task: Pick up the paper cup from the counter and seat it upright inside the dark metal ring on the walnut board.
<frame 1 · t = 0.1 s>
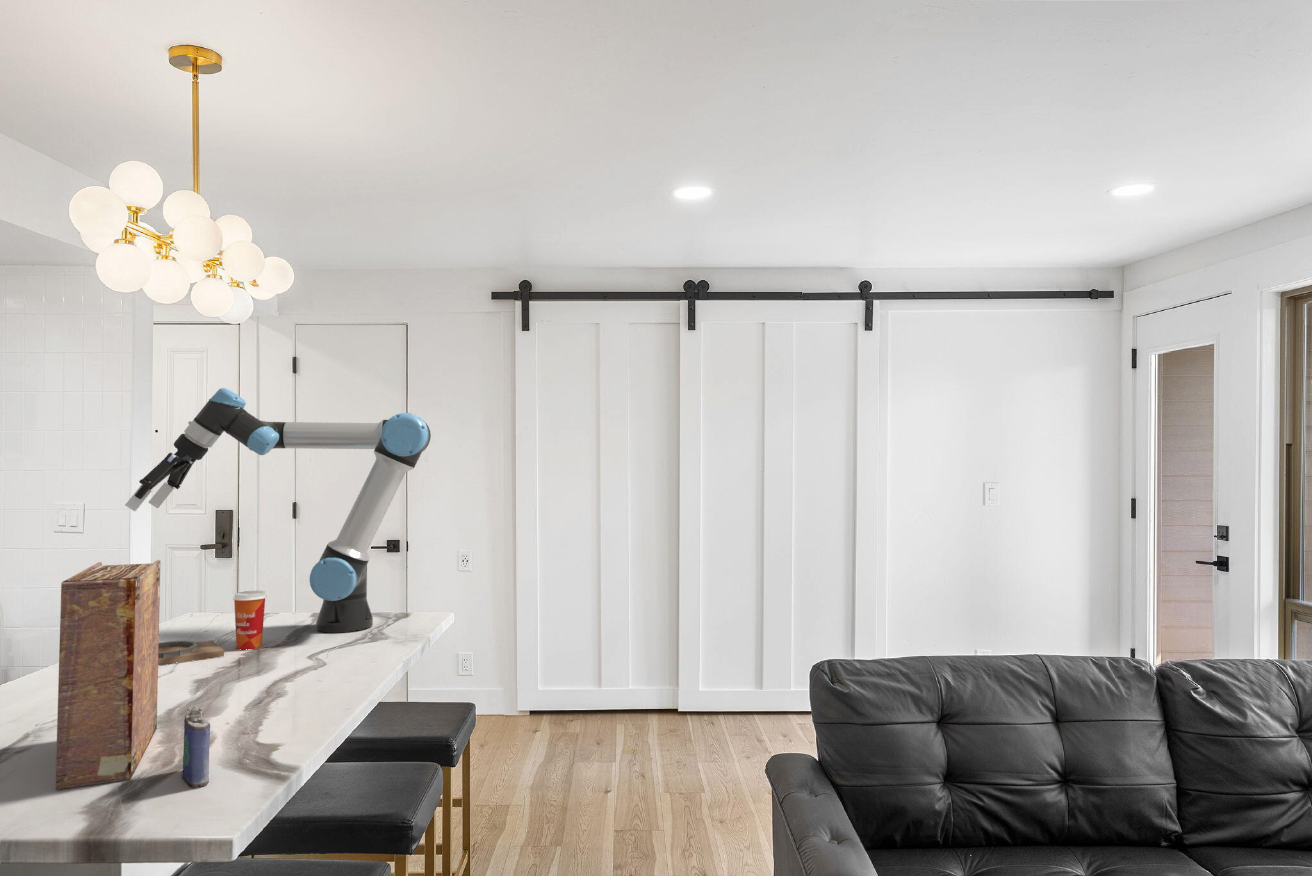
hand: (141, 506, 201), 36 cm above the kitchen island, tool tilted 35°, fingers open, 13 cm apart
paper cup: (249, 648, 199), on the kitchen island
book: (111, 757, 125), on the kitchen island
seat board: (166, 658, 188), on the kitchen island
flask: (194, 779, 117), on the kitchen island
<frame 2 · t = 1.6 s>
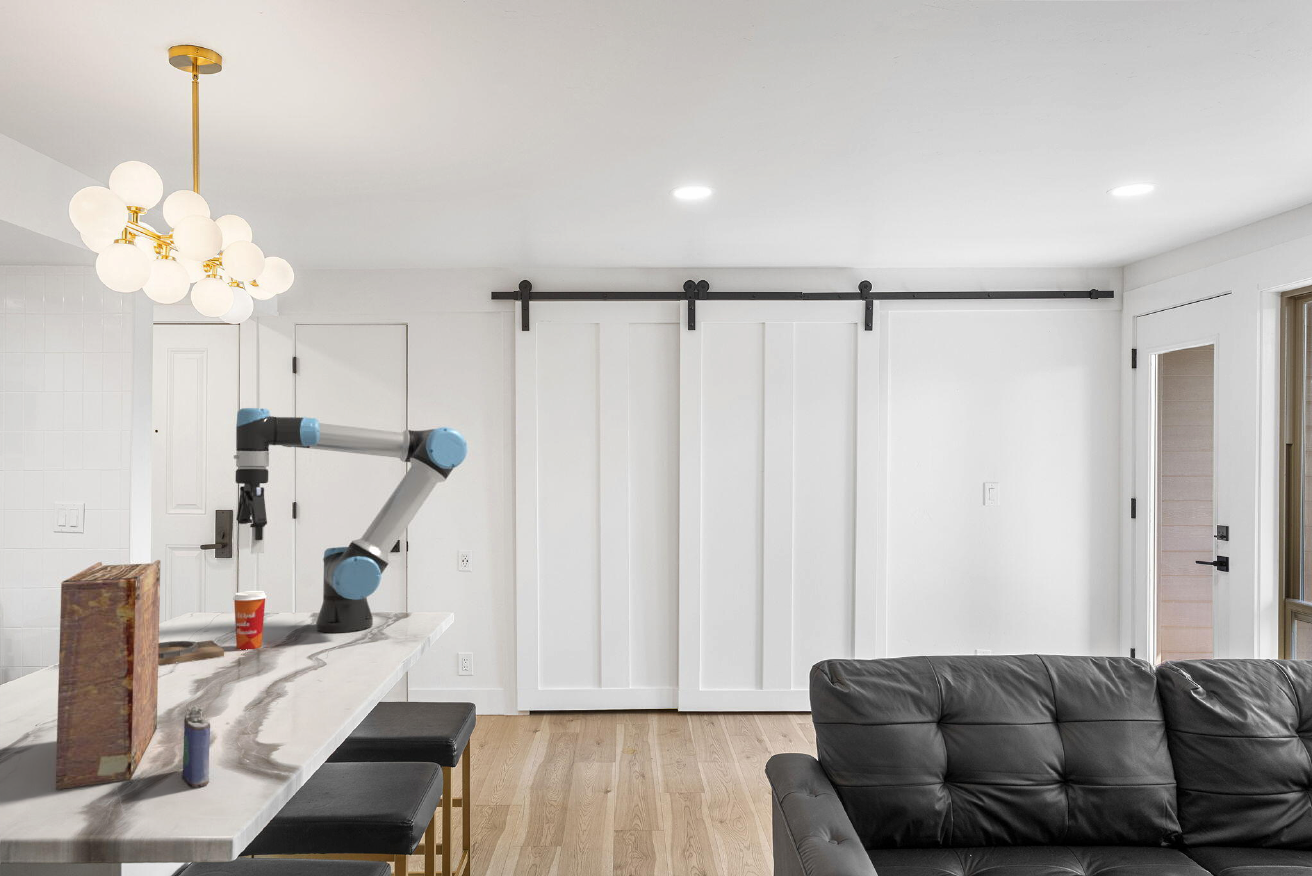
hand: (250, 550, 200), 25 cm above the kitchen island, tool pointing down, fingers open, 13 cm apart
nothing on the kitchen island moved.
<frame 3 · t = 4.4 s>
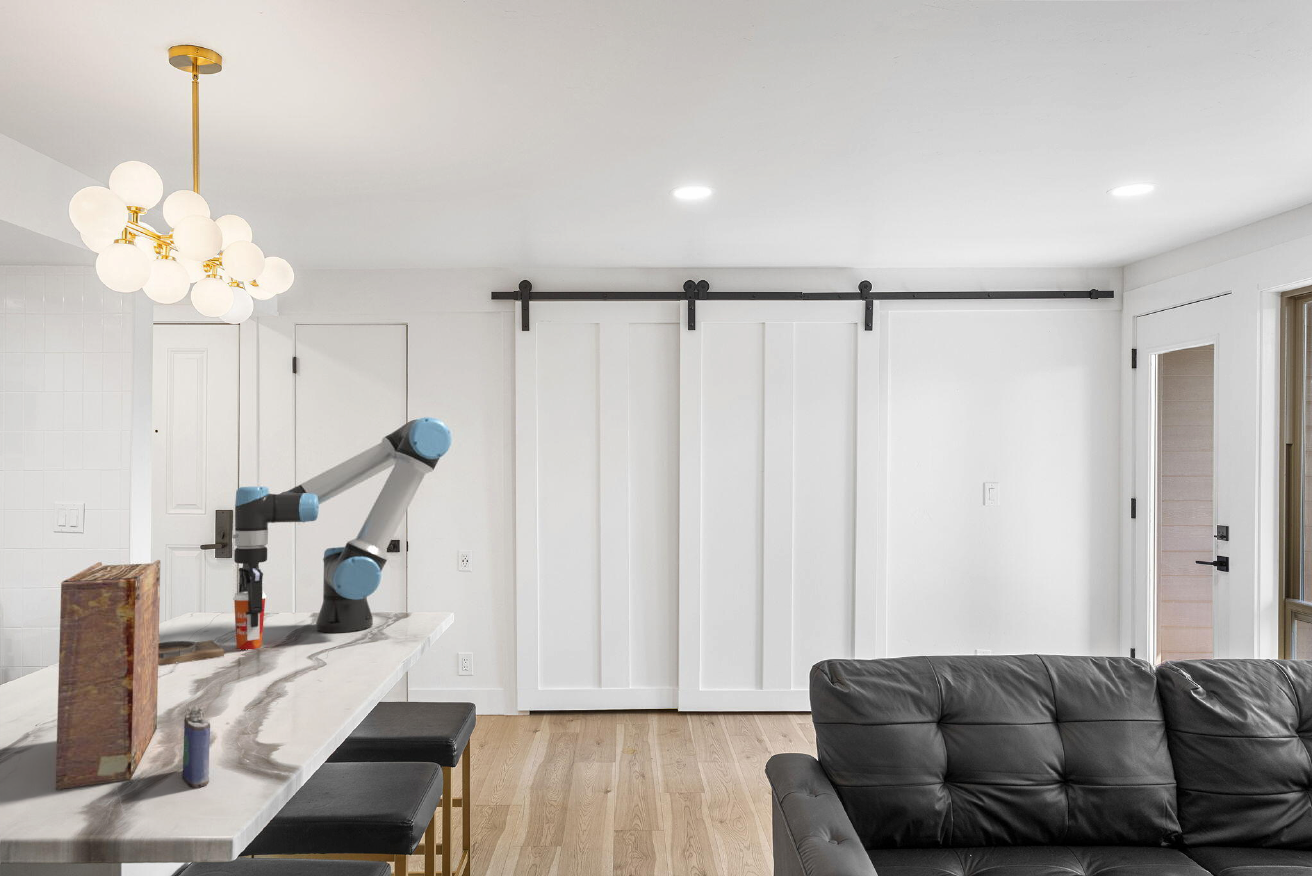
hand: (249, 636, 199), 3 cm above the kitchen island, tool pointing down, fingers closed on paper cup, 7 cm apart
paper cup: (249, 648, 199), on the kitchen island, touching gripper
everything else where it was.
when the fingers open (6 cm above the kitchen island, at t = 10.4 s): paper cup drops 2 cm, resting on seat board.
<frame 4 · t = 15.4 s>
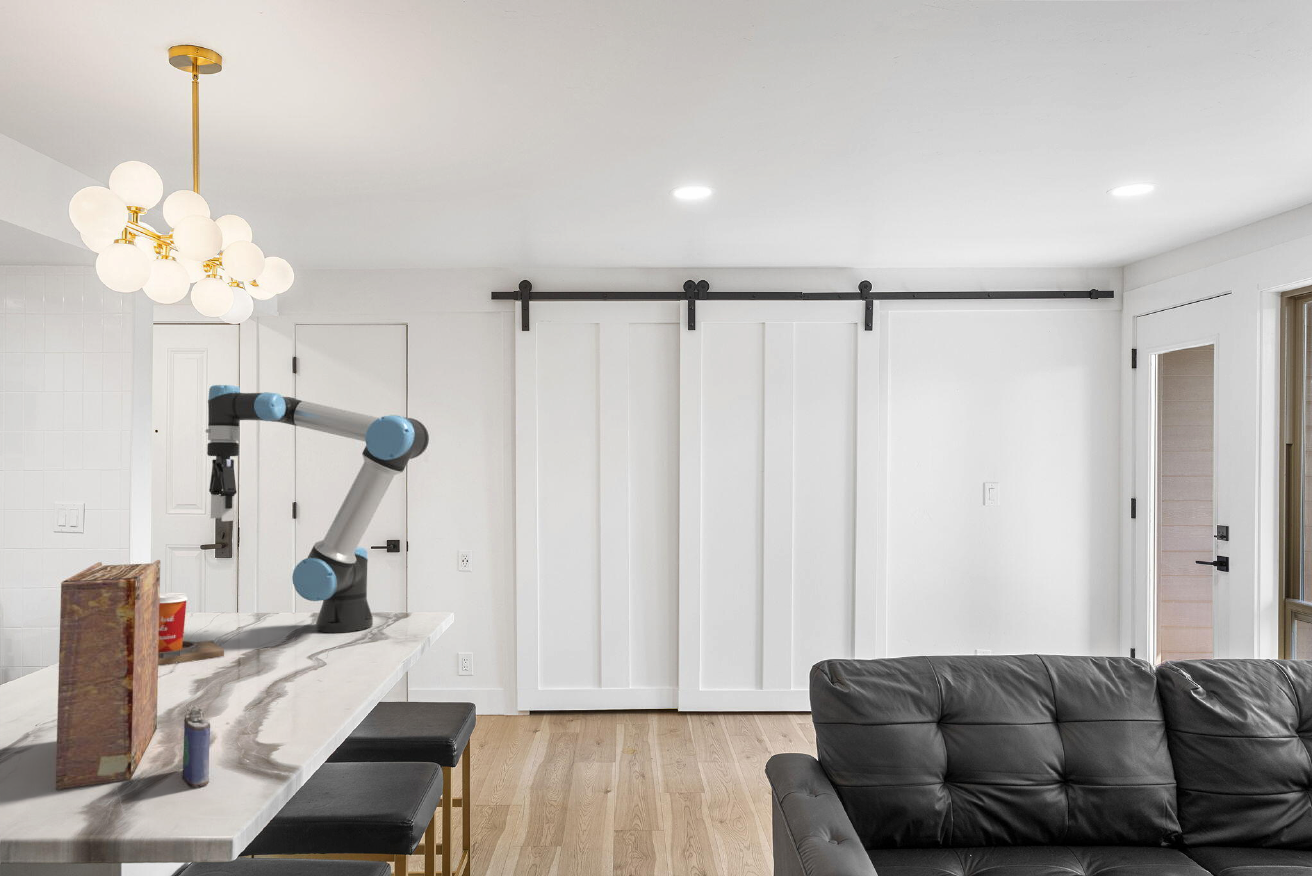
hand: (221, 519, 212), 32 cm above the kitchen island, tool pointing down, fingers open, 13 cm apart
paper cup: (168, 654, 186), point 1 cm above the kitchen island, touching seat board
everything else where it was.
at the end: paper cup 2.1 cm off-centre on the seat board, point 1.3 cm above the seat board's base; paper cup tilted 0°; the gripper is holding nothing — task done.
